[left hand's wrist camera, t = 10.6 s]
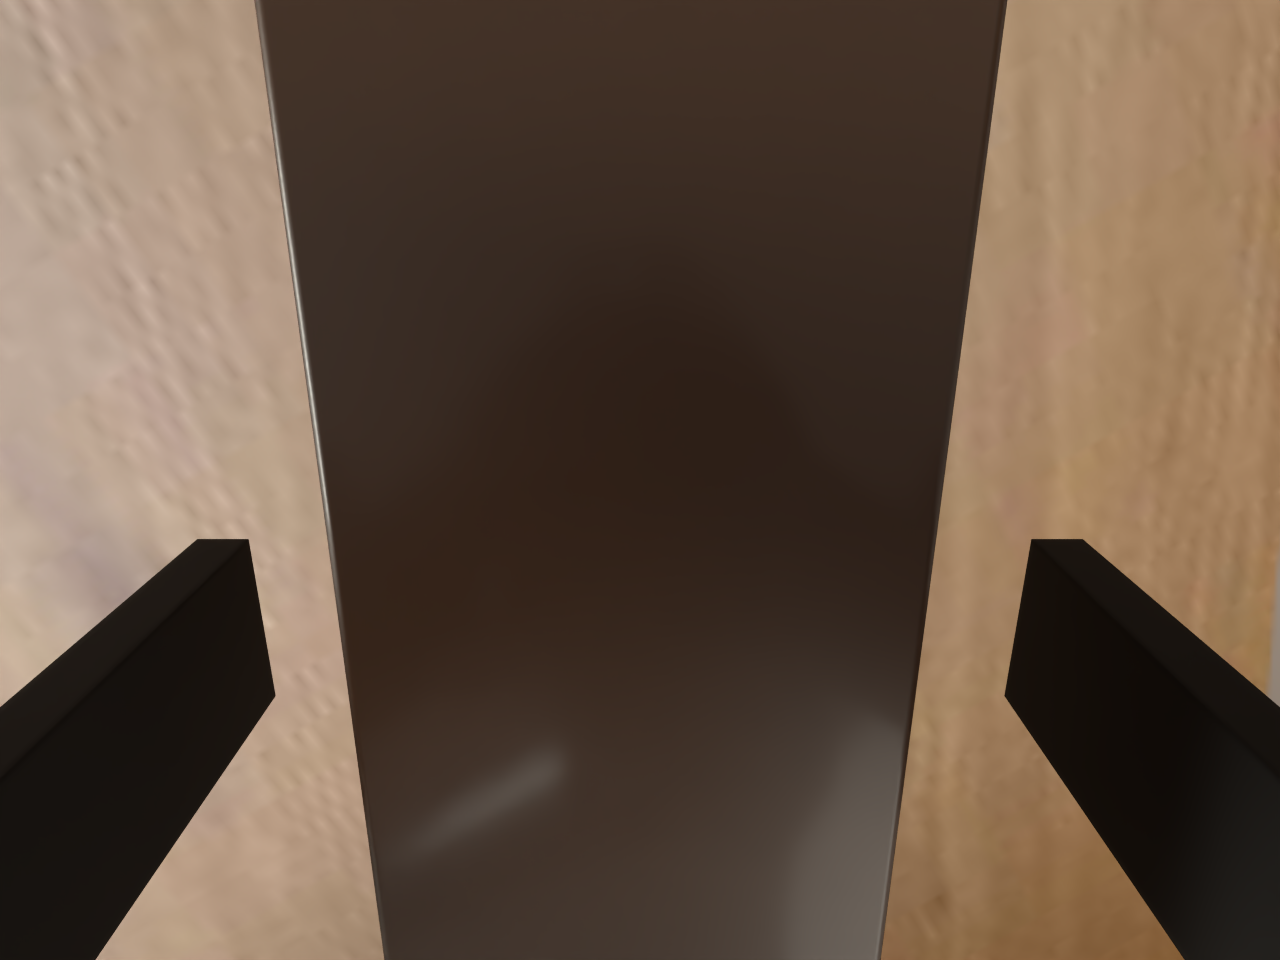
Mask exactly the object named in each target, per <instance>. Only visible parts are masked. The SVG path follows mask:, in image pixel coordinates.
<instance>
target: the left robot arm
mask: <svg viewBox="0 0 1280 960" xmlns="http://www.w3.org/2000/svg"><path fill="white" fill-rule="evenodd" d="M274 697H275V690H274V684H273V678H272V673H271V667H270V661H269V655H268V649H267V644H266V638H265V632H264V626H263V620H262V615H261V609H260V603H259V597H258V591H257V586H256V580H255V574H254V568H253V562H252V557H251V551H250V545H249V539H197V540H196V541H195V542H194V543H192V544H191V545H190V546H189V547H188V548H186V549H185V550H184V551H183V552H182V553H181V554H179V555H178V556H177V557H176V558H175V559H174V560H172V561H171V562H170V563H169V564H168V565H167V566H165V567H164V568H163V569H162V570H161V571H160V572H158V573H157V574H156V575H155V576H154V577H152V578H151V579H150V580H149V581H148V582H147V583H145V584H144V585H143V586H142V587H141V588H140V589H138V590H137V591H136V592H135V593H134V594H133V595H131V596H130V597H129V598H128V599H127V600H125V601H124V602H123V603H122V604H121V605H120V606H118V607H117V608H116V609H115V610H114V611H113V612H111V613H110V614H109V615H108V616H107V617H106V618H104V619H103V620H102V621H101V622H100V623H98V624H97V625H96V626H95V627H94V628H93V629H91V630H90V631H89V632H88V633H87V634H86V635H84V636H83V637H82V638H81V639H80V640H79V641H77V642H76V643H75V644H74V645H73V646H71V647H70V648H69V649H68V650H67V651H66V652H64V653H63V654H62V655H61V656H60V657H59V658H57V659H56V660H55V661H54V662H53V663H52V664H50V665H49V666H48V667H47V668H46V669H45V670H43V671H42V672H41V673H40V674H39V675H37V676H36V677H35V678H34V679H33V680H32V681H30V682H29V683H28V684H27V685H26V686H25V687H23V688H22V689H21V690H20V691H19V692H18V693H16V694H15V695H14V696H13V697H12V698H10V699H9V700H8V701H7V702H6V703H5V704H3V705H2V706H1V707H0V960H96V958H97V957H98V955H99V954H100V952H101V951H102V949H103V948H104V946H105V945H106V943H107V942H108V941H109V939H110V938H111V936H112V935H113V933H114V932H115V930H116V929H117V927H118V926H119V924H120V923H121V921H122V920H123V919H124V917H125V916H126V914H127V913H128V911H129V910H130V908H131V907H132V905H133V904H134V902H135V901H136V899H137V898H138V897H139V895H140V894H141V892H142V891H143V889H144V888H145V886H146V885H147V883H148V882H149V880H150V879H151V878H152V876H153V875H154V873H155V872H156V870H157V869H158V867H159V866H160V864H161V863H162V861H163V860H164V858H165V857H166V856H167V854H168V853H169V851H170V850H171V848H172V847H173V845H174V844H175V842H176V841H177V839H178V838H179V837H180V835H181V834H182V832H183V831H184V829H185V828H186V826H187V825H188V823H189V822H190V820H191V819H192V817H193V816H194V815H195V813H196V812H197V810H198V809H199V807H200V806H201V804H202V803H203V801H204V800H205V798H206V797H207V796H208V794H209V793H210V791H211V790H212V788H213V787H214V785H215V784H216V782H217V781H218V779H219V778H220V776H221V775H222V774H223V772H224V771H225V769H226V768H227V766H228V765H229V763H230V762H231V760H232V759H233V757H234V756H235V754H236V753H237V752H238V750H239V749H240V747H241V746H242V744H243V743H244V741H245V740H246V738H247V737H248V735H249V734H250V733H251V731H252V730H253V728H254V727H255V725H256V724H257V722H258V721H259V719H260V718H261V716H262V715H263V713H264V712H265V711H266V709H267V708H268V706H269V705H270V703H271V702H272V700H273V699H274ZM1005 697H1006V699H1007V700H1008V702H1009V703H1010V705H1011V706H1012V708H1013V709H1014V711H1015V712H1016V713H1017V715H1018V716H1019V718H1020V719H1021V721H1022V722H1023V724H1024V725H1025V727H1026V728H1027V730H1028V731H1029V733H1030V734H1031V735H1032V737H1033V738H1034V740H1035V741H1036V743H1037V744H1038V746H1039V747H1040V749H1041V750H1042V752H1043V753H1044V754H1045V756H1046V757H1047V759H1048V760H1049V762H1050V763H1051V765H1052V766H1053V768H1054V769H1055V771H1056V772H1057V774H1058V775H1059V776H1060V778H1061V779H1062V781H1063V782H1064V784H1065V785H1066V787H1067V788H1068V790H1069V791H1070V793H1071V794H1072V795H1073V797H1074V798H1075V800H1076V801H1077V803H1078V804H1079V806H1080V807H1081V809H1082V810H1083V812H1084V813H1085V815H1086V816H1087V817H1088V819H1089V820H1090V822H1091V823H1092V825H1093V826H1094V828H1095V829H1096V831H1097V832H1098V834H1099V835H1100V836H1101V838H1102V839H1103V841H1104V842H1105V844H1106V845H1107V847H1108V848H1109V850H1110V851H1111V853H1112V854H1113V856H1114V857H1115V858H1116V860H1117V861H1118V863H1119V864H1120V866H1121V867H1122V869H1123V870H1124V872H1125V873H1126V875H1127V876H1128V878H1129V879H1130V880H1131V882H1132V883H1133V885H1134V886H1135V888H1136V889H1137V891H1138V892H1139V894H1140V895H1141V897H1142V898H1143V899H1144V901H1145V902H1146V904H1147V905H1148V907H1149V908H1150V910H1151V911H1152V913H1153V914H1154V916H1155V917H1156V919H1157V920H1158V921H1159V923H1160V924H1161V926H1162V927H1163V929H1164V930H1165V932H1166V933H1167V935H1168V936H1169V938H1170V939H1171V940H1172V942H1173V943H1174V945H1175V946H1176V948H1177V949H1178V951H1179V952H1180V954H1181V955H1182V957H1183V958H1184V960H1280V707H1279V706H1278V705H1276V704H1275V703H1274V702H1273V701H1272V700H1271V699H1270V698H1268V697H1267V696H1266V695H1265V694H1264V693H1263V692H1261V691H1260V690H1259V689H1258V688H1257V687H1255V686H1254V685H1253V684H1252V683H1251V682H1250V681H1248V680H1247V679H1246V678H1245V677H1244V676H1243V675H1241V674H1240V673H1239V672H1238V671H1237V670H1236V669H1234V668H1233V667H1232V666H1231V665H1230V664H1228V663H1227V662H1226V661H1225V660H1224V659H1223V658H1221V657H1220V656H1219V655H1218V654H1217V653H1216V652H1214V651H1213V650H1212V649H1211V648H1210V647H1209V646H1207V645H1206V644H1205V643H1204V642H1203V641H1201V640H1200V639H1199V638H1198V637H1197V636H1196V635H1194V634H1193V633H1192V632H1191V631H1190V630H1189V629H1187V628H1186V627H1185V626H1184V625H1183V624H1182V623H1180V622H1179V621H1178V620H1177V619H1176V618H1174V617H1173V616H1172V615H1171V614H1170V613H1169V612H1167V611H1166V610H1165V609H1164V608H1163V607H1162V606H1160V605H1159V604H1158V603H1157V602H1156V601H1155V600H1153V599H1152V598H1151V597H1150V596H1149V595H1147V594H1146V593H1145V592H1144V591H1143V590H1142V589H1140V588H1139V587H1138V586H1137V585H1136V584H1135V583H1133V582H1132V581H1131V580H1130V579H1129V578H1128V577H1126V576H1125V575H1124V574H1123V573H1122V572H1121V571H1119V570H1118V569H1117V568H1116V567H1115V566H1113V565H1112V564H1111V563H1110V562H1109V561H1108V560H1106V559H1105V558H1104V557H1103V556H1102V555H1101V554H1099V553H1098V552H1097V551H1096V550H1095V549H1094V548H1092V547H1091V546H1090V545H1089V544H1088V543H1086V542H1085V541H1084V540H1083V539H1031V545H1030V551H1029V557H1028V562H1027V568H1026V574H1025V580H1024V586H1023V591H1022V597H1021V603H1020V609H1019V615H1018V620H1017V626H1016V632H1015V638H1014V644H1013V649H1012V655H1011V661H1010V667H1009V673H1008V678H1007V684H1006V690H1005Z"/></svg>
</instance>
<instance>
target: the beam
mask: <svg viewBox="0 0 1280 960" xmlns="http://www.w3.org/2000/svg"><path fill="white" fill-rule="evenodd" d="M1006 6H1007V0H255V8H256V15H257V22H258V30H259V37H260V45H261V52H262V59H263V67H264V74H265V82H266V89H267V96H268V104H269V111H270V118H271V126H272V133H273V141H274V148H275V155H276V163H277V170H278V177H279V185H280V192H281V200H282V207H283V214H284V222H285V229H286V237H287V244H288V251H289V259H290V266H291V273H292V281H293V288H294V296H295V303H296V310H297V318H298V325H299V332H300V340H301V347H302V355H303V362H304V369H305V377H306V384H307V391H308V399H309V406H310V414H311V421H312V428H313V436H314V443H315V451H316V458H317V465H318V473H319V480H320V487H321V495H322V502H323V510H324V517H325V524H326V532H327V539H328V546H329V554H330V561H331V569H332V576H333V583H334V591H335V598H336V606H337V613H338V620H339V628H340V635H341V642H342V650H343V657H344V665H345V672H346V679H347V687H348V694H349V701H350V709H351V716H352V724H353V731H354V738H355V746H356V753H357V760H358V768H359V775H360V783H361V790H362V797H363V805H364V812H365V820H366V827H367V834H368V842H369V849H370V856H371V864H372V871H373V879H374V886H375V893H376V901H377V908H378V915H379V923H380V930H381V938H382V945H383V952H384V960H881V952H882V945H883V937H884V929H885V922H886V914H887V907H888V899H889V892H890V884H891V876H892V869H893V861H894V854H895V846H896V839H897V831H898V824H899V816H900V808H901V801H902V793H903V786H904V778H905V771H906V763H907V755H908V748H909V740H910V733H911V725H912V718H913V710H914V702H915V695H916V687H917V680H918V672H919V665H920V657H921V649H922V642H923V634H924V627H925V619H926V612H927V604H928V597H929V589H930V581H931V574H932V566H933V559H934V551H935V544H936V536H937V528H938V521H939V513H940V506H941V498H942V491H943V483H944V475H945V468H946V460H947V453H948V445H949V438H950V430H951V422H952V415H953V407H954V400H955V392H956V385H957V377H958V370H959V362H960V354H961V347H962V339H963V332H964V324H965V317H966V309H967V301H968V294H969V286H970V279H971V271H972V264H973V256H974V248H975V241H976V233H977V226H978V218H979V211H980V203H981V195H982V188H983V180H984V173H985V165H986V158H987V150H988V143H989V135H990V127H991V120H992V112H993V105H994V97H995V90H996V82H997V74H998V67H999V59H1000V52H1001V44H1002V37H1003V29H1004V21H1005V14H1006Z"/></svg>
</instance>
